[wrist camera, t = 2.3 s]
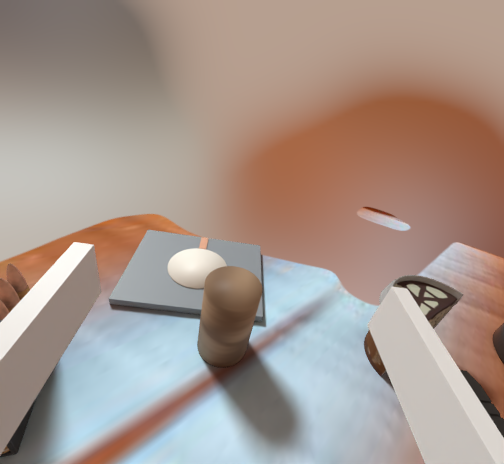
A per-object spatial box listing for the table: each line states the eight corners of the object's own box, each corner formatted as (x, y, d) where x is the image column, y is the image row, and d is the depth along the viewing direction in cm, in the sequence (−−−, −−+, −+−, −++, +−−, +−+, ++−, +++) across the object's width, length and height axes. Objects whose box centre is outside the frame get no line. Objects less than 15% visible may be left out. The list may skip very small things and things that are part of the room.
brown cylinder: (246, 326, 37) (261, 270, 31) (246, 369, 32) (263, 312, 26) (201, 320, 36) (208, 262, 31) (193, 364, 31) (200, 304, 26)
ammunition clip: (36, 341, 30) (1, 257, 24) (56, 339, 31) (27, 256, 24) (-12, 459, 22) (-86, 379, 16) (16, 454, 23) (-44, 374, 16)
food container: (387, 310, 44) (419, 262, 38) (424, 341, 40) (465, 293, 34) (336, 341, 37) (365, 288, 32) (373, 382, 33) (414, 330, 28)
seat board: (259, 249, 51) (260, 244, 50) (261, 321, 38) (263, 315, 37) (148, 234, 49) (148, 228, 49) (109, 303, 36) (108, 297, 35)
